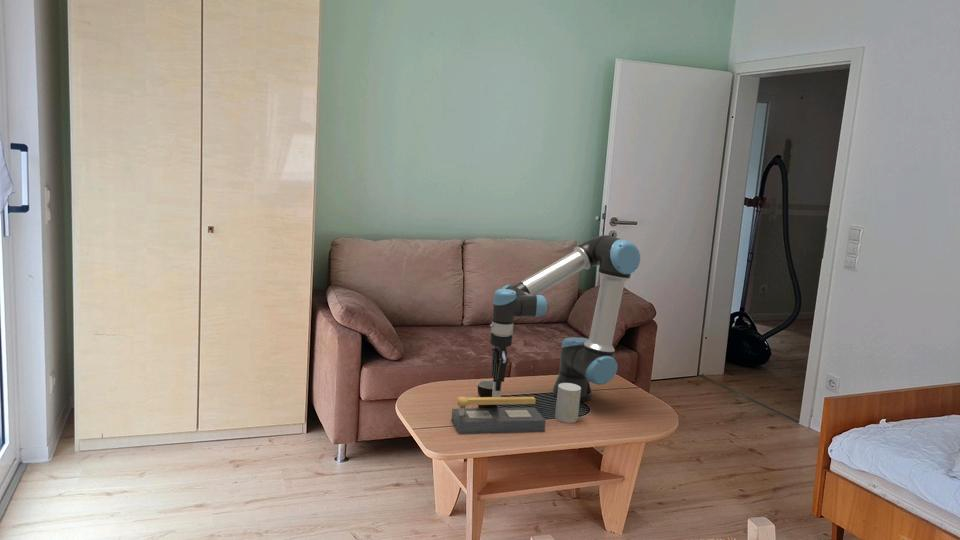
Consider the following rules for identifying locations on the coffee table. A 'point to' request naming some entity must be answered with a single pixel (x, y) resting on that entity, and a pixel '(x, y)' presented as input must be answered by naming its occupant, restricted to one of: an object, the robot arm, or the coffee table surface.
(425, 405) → the coffee table surface
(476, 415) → the chassis
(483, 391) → the coffee mug
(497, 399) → the bar
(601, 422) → the coffee table surface
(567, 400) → the gray cylinder
